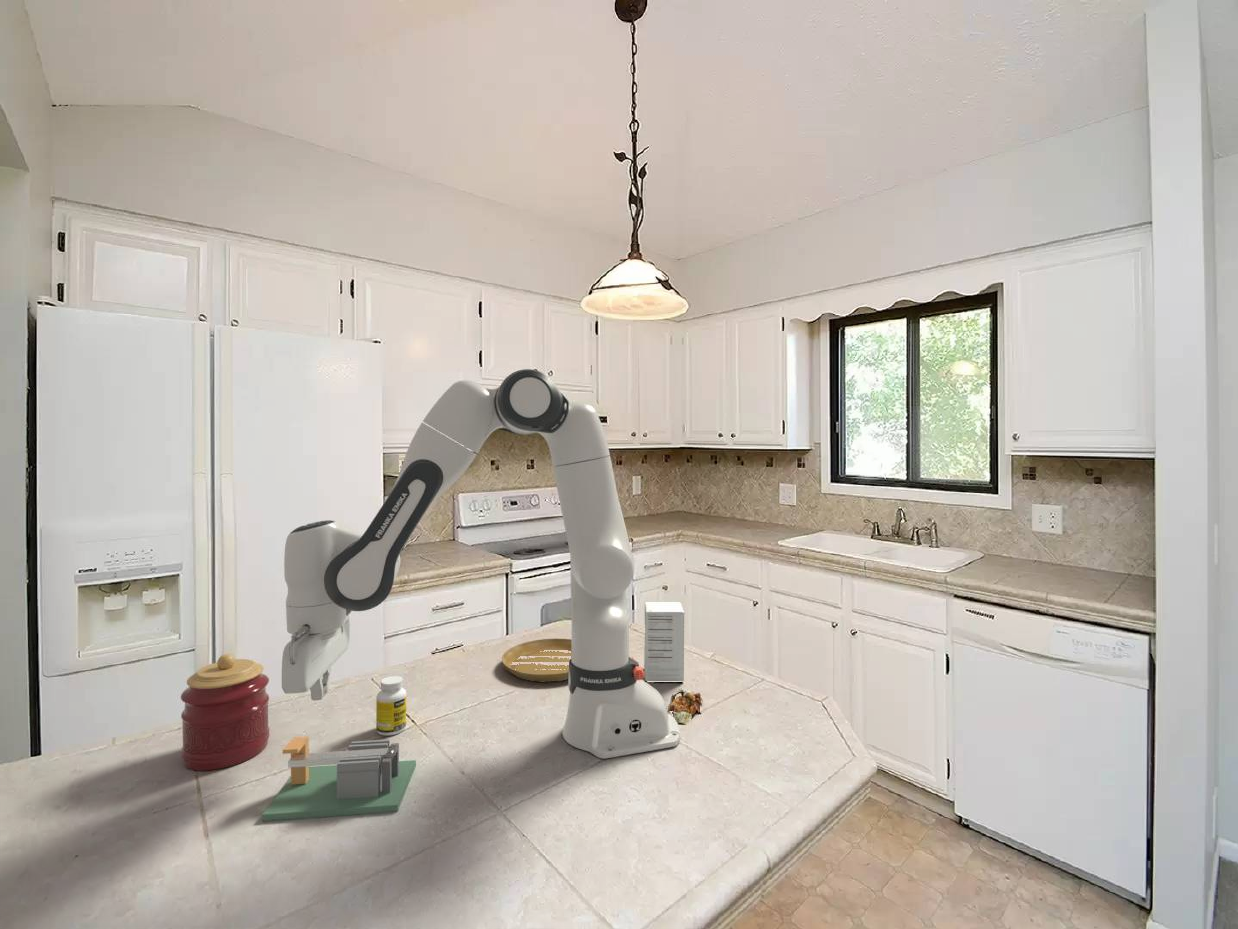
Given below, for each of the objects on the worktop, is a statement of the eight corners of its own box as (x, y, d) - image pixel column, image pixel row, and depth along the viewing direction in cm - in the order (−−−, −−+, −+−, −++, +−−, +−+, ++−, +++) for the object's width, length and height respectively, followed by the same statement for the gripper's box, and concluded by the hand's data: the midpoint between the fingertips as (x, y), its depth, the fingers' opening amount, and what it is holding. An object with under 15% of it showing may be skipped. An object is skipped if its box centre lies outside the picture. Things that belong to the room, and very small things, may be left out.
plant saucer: (511, 694, 128) (511, 679, 128) (494, 657, 150) (494, 644, 150) (612, 678, 136) (612, 665, 136) (582, 646, 159) (582, 634, 159)
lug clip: (308, 779, 92) (308, 736, 92) (298, 794, 88) (297, 749, 88) (294, 780, 92) (293, 737, 91) (283, 795, 88) (282, 750, 88)
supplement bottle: (396, 738, 107) (395, 687, 107) (370, 735, 108) (370, 684, 108) (412, 724, 113) (411, 675, 112) (387, 721, 114) (387, 673, 113)
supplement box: (684, 684, 133) (685, 612, 133) (645, 683, 133) (645, 612, 133) (680, 668, 143) (681, 601, 142) (643, 667, 143) (644, 601, 142)
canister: (285, 743, 105) (284, 648, 105) (210, 780, 93) (208, 674, 93) (241, 728, 111) (240, 638, 110) (165, 761, 99) (163, 661, 98)
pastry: (666, 725, 114) (666, 707, 114) (671, 699, 126) (671, 683, 126) (701, 728, 113) (701, 710, 113) (702, 701, 125) (702, 685, 125)
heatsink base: (415, 766, 98) (415, 729, 98) (397, 811, 86) (397, 769, 86) (298, 773, 96) (298, 735, 95) (262, 821, 83) (261, 778, 83)
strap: (397, 753, 93) (397, 744, 93) (392, 763, 90) (392, 754, 90) (295, 760, 91) (295, 751, 91) (286, 770, 88) (286, 761, 88)
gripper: (311, 635, 87) (315, 724, 88) (355, 600, 107) (358, 672, 108) (267, 638, 86) (271, 728, 87) (319, 602, 107) (322, 675, 107)
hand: (320, 696), depth 98 cm, fingers closed
